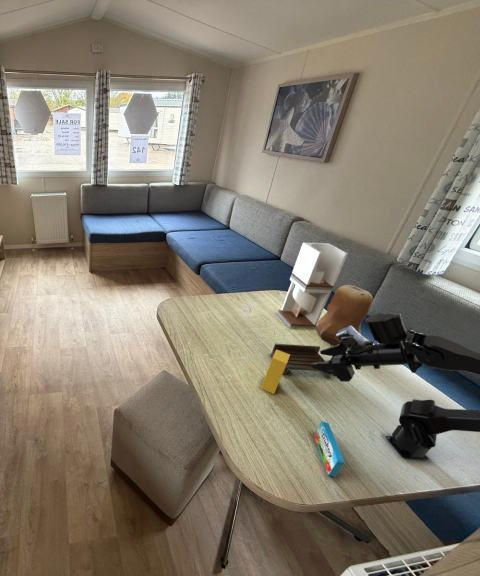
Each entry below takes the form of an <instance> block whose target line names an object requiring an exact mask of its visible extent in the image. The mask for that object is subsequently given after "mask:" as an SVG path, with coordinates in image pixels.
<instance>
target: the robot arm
mask: <svg viewBox="0 0 480 576" xmlns="http://www.w3.org/2000/svg"><path fill="white" fill-rule="evenodd" d="M403 320H404V319H403V317H402V315H401V314H399V313H398V314H392V313H377V314H373V315H370V316H368V317H366V318H365V322H366V324H367V326H368V329H369V331H370V333H371V335H372V338H373V340H374V341H372V340H365V338H364V337H363V336H362V334H359V333H358V332H357V331H356V330H355V329H354V328H353V327H352V326H348V327H346V328H343V329H341V330H339V332H338V333H337V334H336V337H337V338H338V339H339V340H341V343H340V344H338V345H335V346H332V345H331V346H330V347H327V348H324V349H320V350H319V354H320V355H321V356H329V357H330V359H328V360H325V361H323V362H317V363H312V364H311V367H312V368H314V369H317V370H320V371H319V372H321V371H323V372H325V373H328V374H330V375H331V376H332V377H336V379H338V381H339V382H341V383H347V382H348V383H349V382H350V381H351V380H352V379H353V378H354V375H355V373H356V372H355V370H356V371H359V370H361V369H362V368H363V367H373V369H374V370H380V369H381V367H383V366H385V367H386V366H406V365H407V366H408V368H409V370H410V372H411V373H412V374H415V373H416V372H417V371H418V370H419V369H420V368H422V367H423V366H426V367H429V368H433V369H439V370H444V371H449V372H450V371H452V372H466V373H471V374H475V375H478V376H480V352H476V351H473V350H471V349H469V348H467V347H465V346H463V345H461V344H460V343H457V342H455V341H452V340H450V339H447V338H445V337H442V336H438V335H427V334H425V333H420V332H418V331H414V330H411V329H407V328H406V325H405V324H404V321H403ZM375 341H376V342H377V343H375ZM354 369H355V370H354ZM398 422H399V424H400V425H399V424H398V425H397V426H396V428H395V429H394V430H393V432H392V433H391V435H386V436H385V439H386V440H387V441H388V442H389V444H390V445H391V446H392V447H393V449H394V450H395V451H396V452H397V453H398V455H399V456H400V457H401V458H402V459H405V460H416V461H417V460H418V461H428V460H429V457H428V456H427V454H428V453H429V452H430V450H431V449H432V448H435V447H436V445H437V435H440V434H444V433H447V432H451V431H452V432H453V431H460V432H470V433H471V432H473V433H480V409H456V408H445V407H443V406H440V405H436V401H435V400H434V399H416V398H412V400H409V401H405V402H404V404H402V406H401V410H400V414H399V418H398Z"/></svg>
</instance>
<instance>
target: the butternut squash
mask: <svg viewBox="0 0 480 576" xmlns="http://www.w3.org/2000/svg"><path fill="white" fill-rule="evenodd" d="M372 304H373V296H372V294H371V293H370V291H368V290H366V289H363V288H360V287H358V286H356V285H353V284H344V285H341V286H340V287H338V288H337V289H336V291H334V294H333V296H332V298H331V300H330V301H329V303H328V305H327V306H326V312H325V314H324V315H323V316H322V317H320V318H319V320H318V323H317V325H316V327H315V329H314V330H315V331H316V333H317V336H318V337H319V338H320V339H321V340H322V341H323V342H325V343H327V344H329V345H330V346H331V347H332V346H335V345H338V344H340V343H341V340H339V339H338V338H337V337H336V334H337V333H338V332H339V330H341V329H343V328H346V327H348V326H352V327H353V328H354V329H355V330H356V331H357V332H358V333H359V334H360V335H362V333H361V324H362V322H363V321H364V320H365V319H366V318H367V316H368V314H369V312H370V309H371V306H372Z"/></svg>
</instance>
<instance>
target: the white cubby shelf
mask: <svg viewBox="0 0 480 576" xmlns="http://www.w3.org/2000/svg"><path fill="white" fill-rule="evenodd" d="M348 255H349V253H348V252H346V251H345V250H342V249H340V248H339V247H336V246H334V245H333V244H331V243H328V242H327V243H326V242H304V241H303V242H302V245H301V246H300V250H299V253H298V256H297V258H296V261H295V264H294V266H293V269H292V272H291V275H290V278H289V281H290V285H289V287H288V290H287V292H286V295H285V299H284V301H283V303H282V304H283V305H282V306H281V309H278V311H277V315H278V316H279V317H280V318H281V320H282V321H283V323H285V324H286V326H288V327H289V328H290V329H305V330H306V329H307V330H316V329H315V327H316V326H317V324H318V322H319V320H320V319H321V315H322V314H323V311H324V309H325V308H326V305H327V302H328V300H329V297H330V296H331V293H332V291H333V288H334V287H335V284H336V282H337V280H338V278H339V275H340V273H341V271H342V268H343V266H344V264H345V263H346V262H345V261H346V259H347V258H348Z"/></svg>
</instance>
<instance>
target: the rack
mask: <svg viewBox="0 0 480 576" xmlns="http://www.w3.org/2000/svg"><path fill="white" fill-rule="evenodd" d="M271 350H272V351H271V353H270V358H271V359H272V358H273V356H274V354H275V352H276V350H279V351H282V352H284V353H287V354H290V357H289V359H288V362H287V364H286V367H285V369H284V372H283V374H282V376H286V375H287V373H288V371H289V370H293V371H294V370H295V371H309V372H320V373H321V374H322V375H323V376H324V377H325V379H330V378H331V376H332V375H330V374H328V373H325V372H323V371H320V370H317V369H314V368H312V367H311V364H312V363H317V362H323V361H326V360H325V359H324V358H323V356H322V355H321V354H320V351H321V346H320V345H305V344H304V345H302V344H290V343H289V344H287V343H286V344H285V343H274V345H273V348H272V349H271Z"/></svg>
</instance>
